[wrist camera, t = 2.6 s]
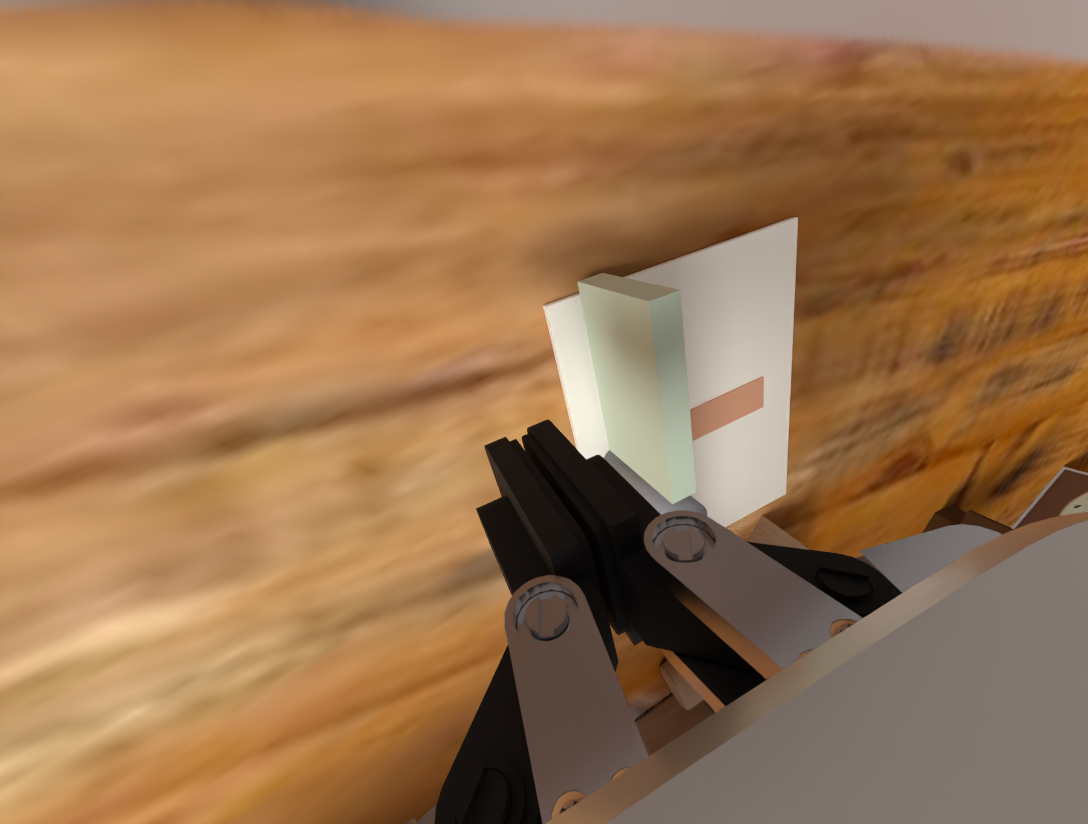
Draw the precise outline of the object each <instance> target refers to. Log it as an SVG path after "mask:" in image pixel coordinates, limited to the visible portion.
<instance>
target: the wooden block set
mask: <svg viewBox="0 0 1088 824" xmlns="http://www.w3.org/2000/svg"><path fill="white" fill-rule="evenodd" d="M748 542H754V543H761V544H769V545H777V546H784V547H792V548H800V549H807V550H810V549H809V548H807V547H806V546H804V545H803V544H802V543H800V542H799V541H798V540H796V539H795V538H793V537H792V536H791V535H789V534H788V533H786V532H785V531H784V530H782V529H781V528H779V527H778V526H777V525H775V524H774V523H772V522H771V521H770V520H768V519H767V518H766V517H764V516H763V515H762V516H761V518H760V520H759V522H758V523H757V525H756V527H755V529H754V531H753V532H752V534H751V536H750V538H749V540H748ZM660 671H661V674H662V676H663V678H664V680H665V682H666V684H667V685H668V687H669V689H670V690H671V692H672V693H673V694H672V695H671V696H669V697H668V698H666V699H665V700H664V701H662V702H661V703H660V704H658V705H657V706H655V707H654V708H653V709H651V710H650V711H649V712H647V713H646V714H644V715H643V716H642V717H640V718H639V719H638V720H636V721H635V723H636V726H637V729H638V731H639V734H640V736H641V739H642V741H643V744H644V746H645V749H646V751H647V754H648V756H650V755H652V754H653V753H655V752H656V751H658V750H659V749H661V748H662V747H664V746H665V745H667V744H668V743H670V742H671V741H673V740H675V739H676V738H678V737H679V736H681V735H682V734H684V733H685V732H687V731H689V730H690V729H692V728H693V727H695V726H696V725H698V724H699V723H701V722H702V721H704V720H706V719H707V718H709V717H710V716H712V715H713V714H715V713H716V712H715V711H714V710H713V708H712V707H711V706H710V705H709V704H708V703H707V702H706V701H705V700H704V699H703V698H702V697H701V696H700V695H699V693H698V692H697V691H696V690H695V689H694V688H693V687H692V686H691V685H690V684H689V683H688V682H687V681H686V680H685V678H684V677H683V676H682V675H681V674H680V673H679V672H678V671H677V670H676V669H675V668H674V667H673V666H672V665H671V663H670V662H669V661H668V660H667V661H666V662H664V663H663V664H661V666H660Z"/></svg>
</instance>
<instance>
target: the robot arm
mask: <svg viewBox="0 0 1088 824" xmlns="http://www.w3.org/2000/svg"><path fill="white" fill-rule="evenodd" d="M527 432H528V434H527V435H524V436H522V442H523V445H524V449H525V450H524V449H523V448H522V446H521V445H520V444H519V442H518V441H517V440H516V439H515V440H512V441H510V442H509V441H508V439H507V438H506V437H504V438H502V439H499V440H497V441H495V442H492V443H490V444H487V445H485V450H486V453H487V456H488V459H489V462H490V465H491V467H492V470H493V473H494V476H495V479H496V482H497V485H498V487H499V490H500V493H501V496H502V497H501V498H499V499H497V500H494V501H492V502H490V503H488V504H486V505H483V506H481V507H479V508H477V509H476V510H477V513H478V515H479V518H480V520H481V523H482V525H483V528H484V530H485V533H486V535H487V538H488V540H489V543H490V545H491V548H492V550H493V552H494V555H495V557H496V560H497V562H498V564H499V567H500V569H501V571H502V574H503V576H504V578H505V581H506V583H507V585H508V588H509V590H510V592H511V595H512V597H511V599H510V600H509V602H508V604H507V607H506V610H505V613H504V616H505V630H506V635H507V640H508V646H507V648H506V650H505V652H504V655H503V657H502V659H501V661H500V663H499V665H498V668H497V670H496V672H495V674H494V676H493V678H492V681H491V683H490V685H489V687H488V689H487V691H486V694H485V696H484V698H483V700H482V702H481V704H480V707H479V709H478V711H477V713H476V715H475V717H474V720H473V722H472V724H471V726H470V728H469V730H468V733H467V735H466V737H465V739H464V741H463V744H462V746H461V748H460V750H459V752H458V754H457V757H456V759H455V761H454V763H453V765H452V767H451V770H450V772H449V774H448V776H447V778H446V780H445V783H444V785H443V787H442V790H441V793H440V796H439V799H438V802H437V804H436V805H435V806H434V807H433V808H431V809H430V810H429V811H428V812H427V813H426V814H425V815H424V816H423V817H422V818H421V819H420V820H419V821H418V822H416V821H415V819H414V818H412V819H410V820H409V821H408V822H407V823H406V824H1088V512H1082V513H1074V514H1067V515H1063V516H1058V517H1053V518H1048V519H1045V520H1041V521H1038V522H1034V523H1030V524H1028V525H1025V526H1022V527H1020V528H1017V529H1015V530H1012V531H1009V532H1007V533H1005V534H1003V535H1002V534H1000V533H998V532H996V531H993V530H990V529H987V528H983V527H980V526H974V525H965V524H959V525H951V526H946V527H942V528H939V529H935V530H932V531H928V532H925V533H921V534H918V535H914V536H910V537H907V538H903V539H900V540H896V541H893V542H889V543H886V544H882V545H879V546H875V547H872V548H868V549H865V550H861V551H859V555H858V557H857V558H854V557H851V556H846V555H842V554H838V553H830V552H822V551H815V550H807V549H800V548H792V547H784V546H777V545H769V544H761V543H754V542H746V541H745V540H743V539H742V538H740V537H738V536H737V535H735V534H734V533H732V532H731V531H729V530H728V529H726V528H725V527H723V526H722V525H720V524H719V523H717V522H716V521H714V520H713V519H711V518H709V517H707V516H705V515H703V514H701V513H697V512H693V511H688V510H676V511H672V512H667V513H664V514H662V515H661V514H660V513H659V512H658V511H657V510H656V509H655V508H654V507H653V506H652V505H651V504H650V503H649V502H648V501H647V500H646V499H645V498H644V497H643V496H642V495H641V494H640V493H639V492H638V491H637V490H636V489H635V488H634V487H633V486H632V485H631V484H630V483H629V482H628V481H627V480H626V479H625V478H624V477H622V476H621V475H620V474H619V473H618V472H617V471H616V470H615V469H614V468H613V467H612V466H611V465H610V464H609V463H608V462H607V461H606V460H605V459H604V458H603V457H602V456H600V455H595V456H593V457H591V458H588V459H585V458H584V456H583V455H582V454H581V453H580V452H579V451H578V450H577V449H576V448H575V447H574V446H573V445H572V444H571V443H570V442H569V440H568V439H567V438H566V437H565V436H564V435H563V434H562V433H561V432H560V431H559V430H558V429H557V428H556V427H555V426H554V425H553V423H552V422H551V421H550V420H545V421H543V422H540V423H538V424H536V425H533V426H531V427H528V428H527ZM609 623H610V624H609ZM610 625H611V626H612V628H613V629H614V631H615V632H616V633H617V635H620V634H622V633H624V632H626V634H627V635H628V637H629V638H630V640H631V641H632V643H633V644H634V645H636V644H638V643H640V642H641V641H644V643H645V644H646V645H648V646H652V647H656V648H660V649H661V650H662V653H663V654H664V656H665V657H666V659H667V660H668V661H669V662H670V663H671V665H672V666H673V667H674V668H675V669H676V670H677V671H678V672H679V673H680V674H681V675H682V676H683V677H684V678H685V680H686V681H687V682H688V683H689V684H690V685H691V686H692V687H693V688H694V689H695V690H696V691H697V692H698V693H699V695H700V696H701V697H702V698H703V699H704V700H705V701H706V702H707V703H708V704H709V705H710V706H711V707H712V708H713V710H714V711H715V712H716V713H715V714H713V715H712V716H710V717H709V718H707V719H706V720H704V721H702V722H701V723H699V724H698V725H696V726H695V727H693V728H692V729H690V730H689V731H687V732H685V733H684V734H682V735H681V736H679V737H678V738H676V739H675V740H673V741H671V742H670V743H668V744H667V745H665V746H664V747H662V748H661V749H659V750H658V751H656V752H655V753H653V754H652V755H650V756H648V754H647V751H646V749H645V746H644V744H643V741H642V739H641V736H640V734H639V731H638V729H637V726H636V723H635V721H634V718H633V716H632V713H631V711H630V708H629V706H628V703H627V701H626V698H625V696H624V693H623V691H622V688H621V686H620V683H619V681H618V678H617V676H616V673H615V672H616V668H617V664H618V658H617V654H616V650H615V645H614V641H613V637H612V633H611V628H610Z"/></svg>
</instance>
